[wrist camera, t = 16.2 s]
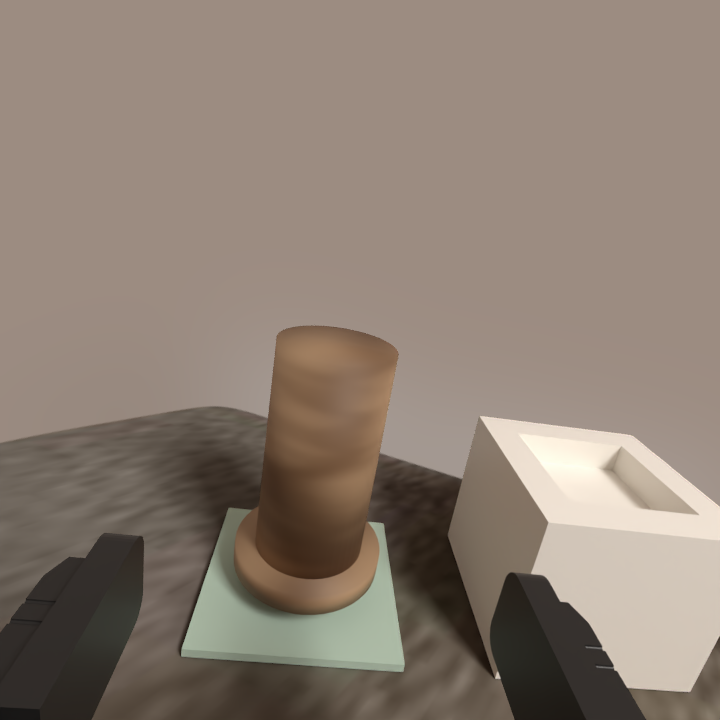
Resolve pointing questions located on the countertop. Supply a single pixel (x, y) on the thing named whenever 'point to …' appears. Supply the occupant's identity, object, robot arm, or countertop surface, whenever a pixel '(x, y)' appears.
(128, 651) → the countertop surface
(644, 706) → the countertop surface
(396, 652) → the mat
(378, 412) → the flanged wooden peg
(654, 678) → the white socket block
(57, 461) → the countertop surface
